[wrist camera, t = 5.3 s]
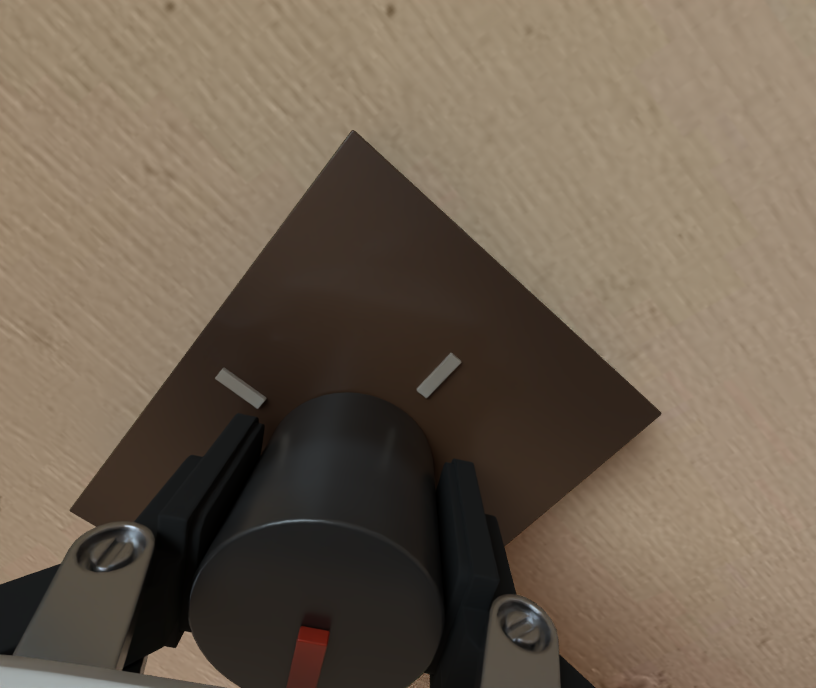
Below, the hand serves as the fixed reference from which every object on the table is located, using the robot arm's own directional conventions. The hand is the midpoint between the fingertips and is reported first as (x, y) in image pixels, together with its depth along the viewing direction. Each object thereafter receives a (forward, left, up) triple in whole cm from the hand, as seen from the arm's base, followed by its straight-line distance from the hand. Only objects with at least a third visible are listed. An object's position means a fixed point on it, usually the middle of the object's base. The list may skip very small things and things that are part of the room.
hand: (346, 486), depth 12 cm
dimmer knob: (0, 0, -1) cm, 1 cm away
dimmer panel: (0, 0, -3) cm, 3 cm away
